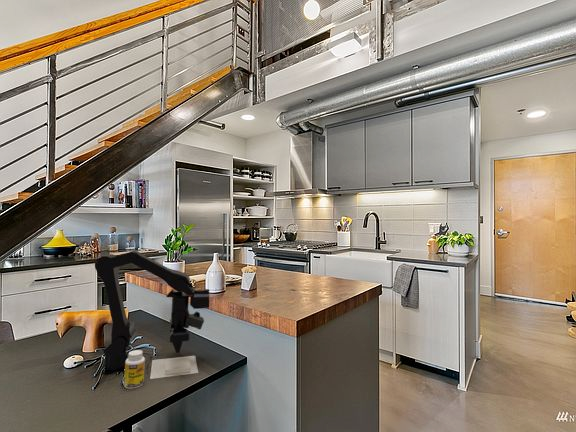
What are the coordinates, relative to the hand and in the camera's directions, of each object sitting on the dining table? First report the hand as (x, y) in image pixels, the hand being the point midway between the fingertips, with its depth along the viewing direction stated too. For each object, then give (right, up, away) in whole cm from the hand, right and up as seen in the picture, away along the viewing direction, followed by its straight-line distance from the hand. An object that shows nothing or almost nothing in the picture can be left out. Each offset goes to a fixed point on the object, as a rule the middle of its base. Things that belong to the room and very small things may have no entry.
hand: (177, 352), depth 112 cm
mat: (-1, -4, -2) cm, 5 cm away
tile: (0, -3, +1) cm, 3 cm away
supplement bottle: (-9, -4, -14) cm, 17 cm away
